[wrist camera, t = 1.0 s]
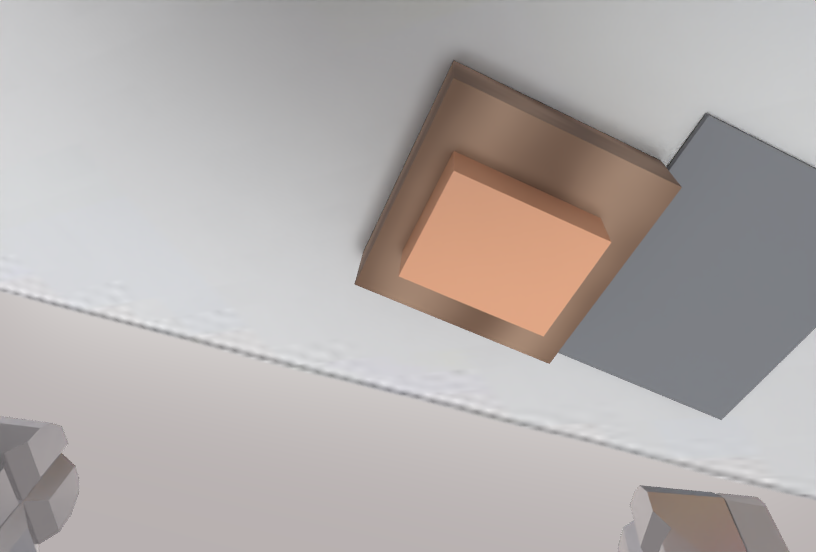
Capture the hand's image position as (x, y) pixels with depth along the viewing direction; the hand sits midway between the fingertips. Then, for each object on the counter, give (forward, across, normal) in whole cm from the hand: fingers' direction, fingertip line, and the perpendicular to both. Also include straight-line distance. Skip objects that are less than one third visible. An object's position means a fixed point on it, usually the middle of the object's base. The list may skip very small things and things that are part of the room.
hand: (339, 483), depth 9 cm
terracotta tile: (+22, -3, +6) cm, 23 cm away
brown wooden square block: (+26, -4, +6) cm, 27 cm away
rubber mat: (+26, -16, +10) cm, 33 cm away
